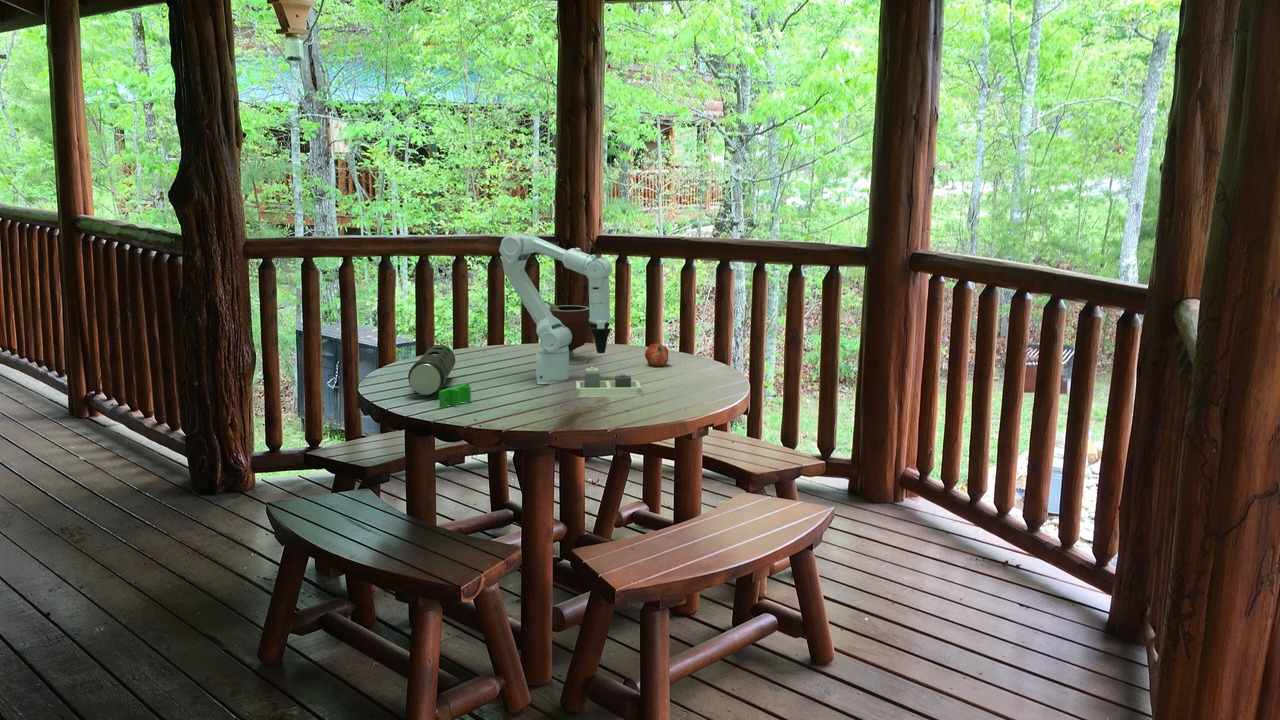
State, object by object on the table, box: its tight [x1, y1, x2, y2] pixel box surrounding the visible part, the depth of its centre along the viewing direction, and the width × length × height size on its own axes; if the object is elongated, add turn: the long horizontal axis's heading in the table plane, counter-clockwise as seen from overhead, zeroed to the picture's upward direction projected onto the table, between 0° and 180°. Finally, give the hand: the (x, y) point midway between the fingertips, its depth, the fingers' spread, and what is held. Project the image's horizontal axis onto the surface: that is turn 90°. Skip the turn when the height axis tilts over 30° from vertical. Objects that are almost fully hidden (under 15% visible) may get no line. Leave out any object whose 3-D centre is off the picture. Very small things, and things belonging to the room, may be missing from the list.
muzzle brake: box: [407, 344, 456, 396], centre depth 268 cm, size 10×28×10 cm, turn 4°
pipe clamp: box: [438, 382, 472, 408], centre depth 250 cm, size 11×4×5 cm, turn 153°
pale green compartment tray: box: [575, 379, 642, 398], centre depth 260 cm, size 17×11×3 cm, turn 94°
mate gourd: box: [544, 300, 591, 366], centre depth 307 cm, size 16×14×20 cm
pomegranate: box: [644, 342, 669, 367], centre depth 303 cm, size 7×7×10 cm
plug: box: [614, 373, 632, 388], centre depth 260 cm, size 4×4×5 cm
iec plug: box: [583, 366, 601, 388], centre depth 260 cm, size 4×4×7 cm
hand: (600, 350), depth 272 cm, fingers open, 7 cm apart
